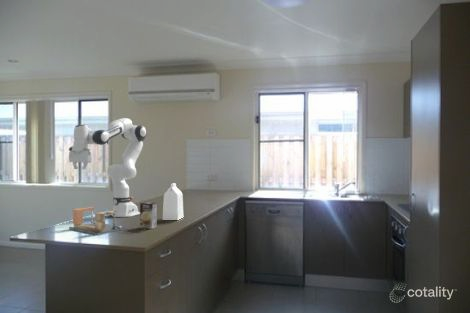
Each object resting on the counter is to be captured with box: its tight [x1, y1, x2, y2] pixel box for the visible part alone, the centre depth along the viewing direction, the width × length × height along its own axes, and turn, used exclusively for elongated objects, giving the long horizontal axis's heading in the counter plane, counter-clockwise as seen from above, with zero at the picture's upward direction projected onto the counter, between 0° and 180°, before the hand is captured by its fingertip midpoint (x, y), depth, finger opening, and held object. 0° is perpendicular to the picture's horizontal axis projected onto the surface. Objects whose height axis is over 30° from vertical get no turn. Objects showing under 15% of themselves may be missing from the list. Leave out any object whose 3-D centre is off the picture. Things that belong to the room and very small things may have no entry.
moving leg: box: [72, 206, 95, 225], centre depth 223 cm, size 13×4×10 cm, turn 147°
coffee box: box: [139, 201, 158, 230], centre depth 225 cm, size 9×6×16 cm
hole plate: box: [68, 220, 126, 236], centre depth 219 cm, size 20×28×2 cm
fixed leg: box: [73, 210, 116, 232], centre depth 217 cm, size 13×26×11 cm, turn 57°
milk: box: [162, 182, 185, 221], centre depth 254 cm, size 12×12×26 cm
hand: (79, 169), depth 234 cm, fingers open, 8 cm apart
